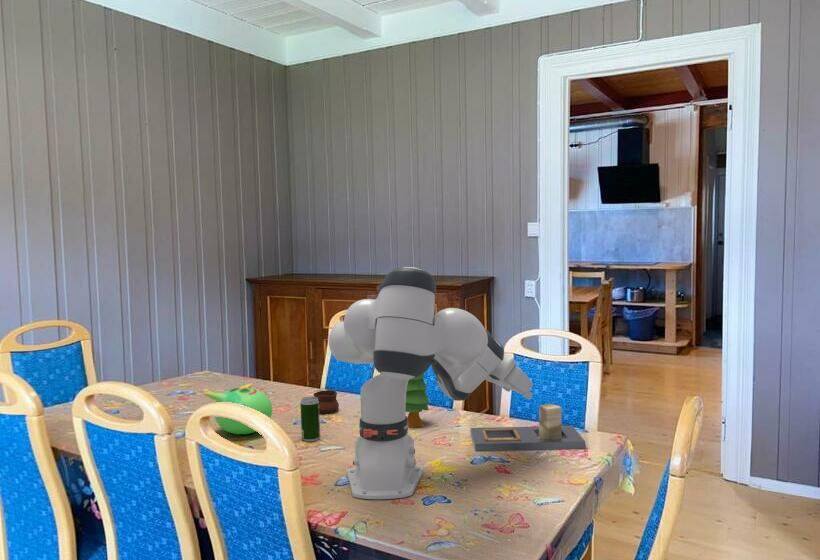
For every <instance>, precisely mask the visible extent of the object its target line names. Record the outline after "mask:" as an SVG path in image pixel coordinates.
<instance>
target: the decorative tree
mask: <svg viewBox="0 0 820 560" xmlns="http://www.w3.org/2000/svg"><path fill="white" fill-rule="evenodd" d="M424 378H426V376H425V373H423V374H422V375H420V376H419V377H417V378H412V379H409V381H408V385H407V390H406V413H408V415H407V420H408V427H409V428H421V427H423V426H424V425H425V422H424V421H423V420H422V419H421V417H420V413H421V412H423V411H429V406H428V404H430V399H429V396H428V395H427V393H426V391H428V388H427V387H428V386H427V384H426V383H425V380H424ZM423 424H424V425H423ZM422 425H423V426H422Z"/></svg>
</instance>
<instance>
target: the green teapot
mask: <svg viewBox="0 0 820 560" xmlns="http://www.w3.org/2000/svg"><path fill="white" fill-rule="evenodd" d="M252 385H253V383H247V384H244V385H241V386H239V387H238V386H237V387H234V388H231V389H229V390H227V391H224V392H213V391H204V392H203V394H204V396H206V397H208V398H210V399H211V400H214V401H215V403H216V402H232V403H237V404H240V405H244V406H247V407H250V408H253V409H255V410H257V411H260V412H261V413H263V414H265V415H267V416H268V417H270V419H271V418H272V415H273V405H272V401H271V399H270V398H269V397H268V396H267V394H265V393H264V392H263V391H262V390H261V389H257V388H255V387H252ZM214 419H215V422H216V423H217V425H218V426H219V427H220V428H222V430H223V431H225V432H228V433H229V434H230V433H231V434H233V435H239V434H244V435H250V434H254V433H257V432H256V431H254V430H253V429H251V428H249V427H248V426H246V425H244V424H242V423H240V422H238V421H235V420H232V419H228V418H223V417H214Z"/></svg>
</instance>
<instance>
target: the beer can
mask: <svg viewBox="0 0 820 560" xmlns="http://www.w3.org/2000/svg"><path fill="white" fill-rule="evenodd" d="M299 404H300V425H301V427H300V429H301V430H300V431H301V432H300V433H301V439H302V441H303V440H304V442H306V441H309V442H310V443H311V441H313V442H317V441H318V439H319V440H320V437H321V424H320V420H321V418H320V415H319V401H318V398H317V397H314V396H305V397H302V398H300V403H299Z"/></svg>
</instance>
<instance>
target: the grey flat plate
mask: <svg viewBox="0 0 820 560" xmlns="http://www.w3.org/2000/svg"><path fill="white" fill-rule="evenodd" d="M491 438H492V439H491ZM493 438H494V439H493ZM470 439H471V441H472V445H473V448H474V451H475V452H486V451H487V452H488V451H489V452H493V451H497V452H498V451H537V450H539V451H540V450H544V451H545V450H584V449H586V440H585V439H584V438H583V437H582V435H581V434H580V433H579V432H578V431H577V430H576V428H575V427H574V426H573V425H562V438H556V439H539V425H538V426H500V427H499V426H498V427H496V426H495V427H491V426H490V427H470Z"/></svg>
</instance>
